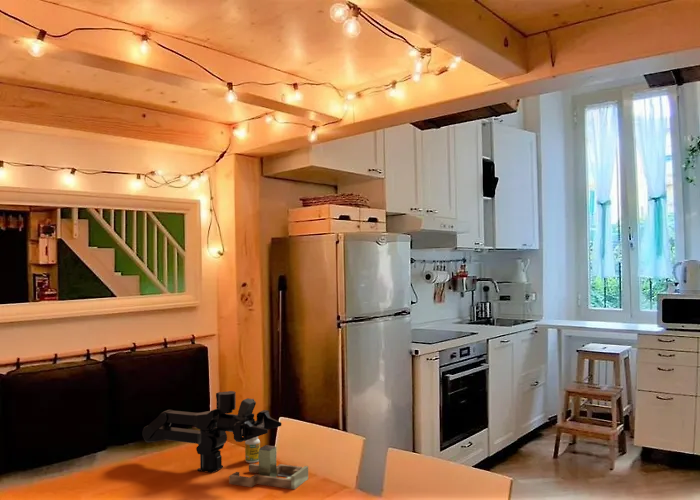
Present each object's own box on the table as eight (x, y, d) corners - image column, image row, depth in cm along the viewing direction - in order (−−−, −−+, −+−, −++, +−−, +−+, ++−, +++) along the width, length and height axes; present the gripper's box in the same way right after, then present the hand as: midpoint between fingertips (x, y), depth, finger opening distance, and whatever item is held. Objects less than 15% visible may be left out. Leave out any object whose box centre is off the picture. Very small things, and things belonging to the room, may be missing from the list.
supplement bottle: (256, 457, 214) (256, 430, 214) (262, 461, 209) (262, 434, 210) (242, 460, 211) (242, 433, 211) (248, 464, 206) (248, 436, 207)
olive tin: (258, 480, 190) (258, 448, 190) (265, 476, 194) (265, 444, 194) (270, 482, 189) (269, 449, 189) (276, 477, 192) (276, 446, 193)
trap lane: (229, 483, 188) (229, 471, 188) (254, 467, 202) (254, 456, 202) (290, 492, 179) (290, 479, 179) (312, 475, 194) (312, 463, 194)
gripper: (218, 405, 190) (260, 409, 184) (248, 394, 207) (287, 397, 201) (218, 439, 190) (260, 445, 184) (248, 425, 207) (287, 429, 201)
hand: (274, 427), depth 192 cm, fingers open, 9 cm apart
